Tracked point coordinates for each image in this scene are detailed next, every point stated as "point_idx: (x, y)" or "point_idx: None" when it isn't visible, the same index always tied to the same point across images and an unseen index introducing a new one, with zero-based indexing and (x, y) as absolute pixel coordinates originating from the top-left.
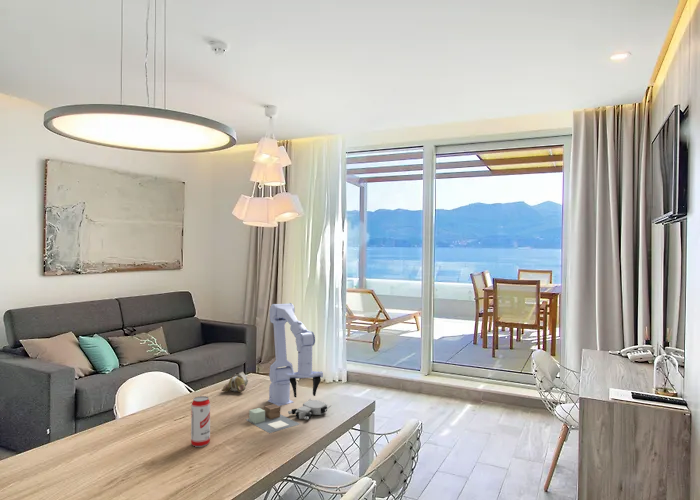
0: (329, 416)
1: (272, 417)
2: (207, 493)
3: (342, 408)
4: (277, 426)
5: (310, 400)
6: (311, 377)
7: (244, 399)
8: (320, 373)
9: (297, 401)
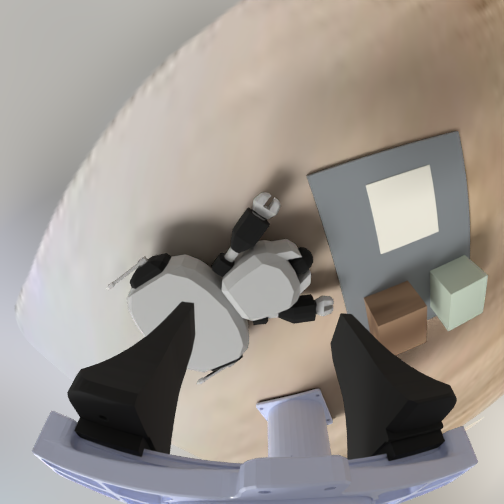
0: (135, 243)
1: (401, 287)
2: None
3: (83, 308)
4: (417, 186)
5: (202, 367)
6: (183, 457)
7: None
8: (57, 458)
9: (239, 408)
